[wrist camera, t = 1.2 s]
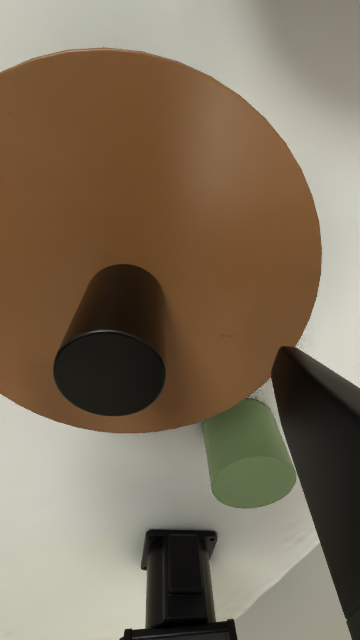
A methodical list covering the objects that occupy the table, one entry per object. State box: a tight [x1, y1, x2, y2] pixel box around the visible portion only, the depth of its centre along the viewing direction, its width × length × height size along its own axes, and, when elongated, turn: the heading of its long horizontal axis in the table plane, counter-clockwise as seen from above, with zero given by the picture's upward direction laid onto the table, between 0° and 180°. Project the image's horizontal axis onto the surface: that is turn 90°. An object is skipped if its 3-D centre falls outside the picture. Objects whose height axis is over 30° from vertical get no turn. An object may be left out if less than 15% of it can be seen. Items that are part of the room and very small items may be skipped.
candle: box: [203, 399, 296, 508], centre depth 21 cm, size 5×5×4 cm
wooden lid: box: [0, 48, 322, 433], centre depth 10 cm, size 13×13×5 cm
